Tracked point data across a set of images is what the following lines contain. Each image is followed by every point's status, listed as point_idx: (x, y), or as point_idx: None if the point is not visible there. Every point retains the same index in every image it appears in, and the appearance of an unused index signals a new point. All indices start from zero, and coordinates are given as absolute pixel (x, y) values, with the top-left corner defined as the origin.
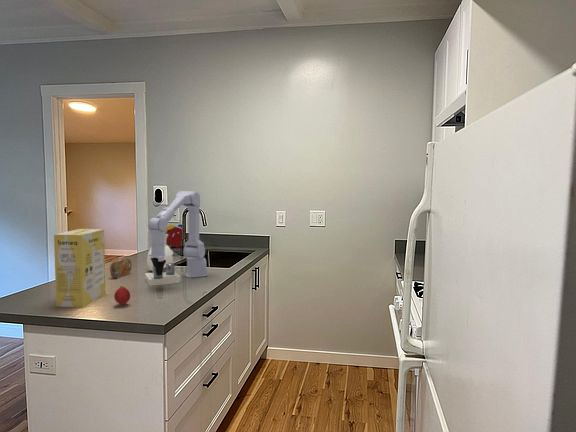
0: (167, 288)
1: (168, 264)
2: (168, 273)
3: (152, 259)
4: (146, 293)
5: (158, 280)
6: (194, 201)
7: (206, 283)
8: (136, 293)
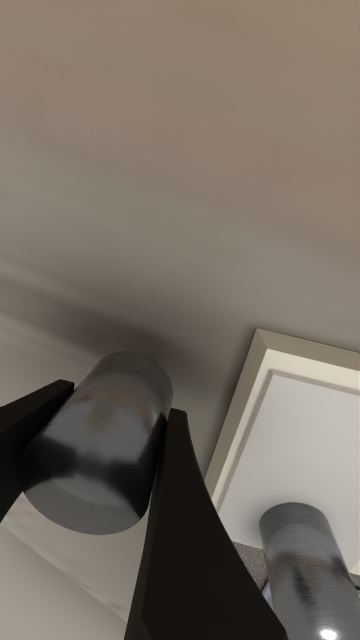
0: None
1: (314, 633)
2: (276, 519)
3: (135, 632)
4: (67, 229)
5: (241, 405)
6: None
7: (112, 559)
8: (103, 160)
